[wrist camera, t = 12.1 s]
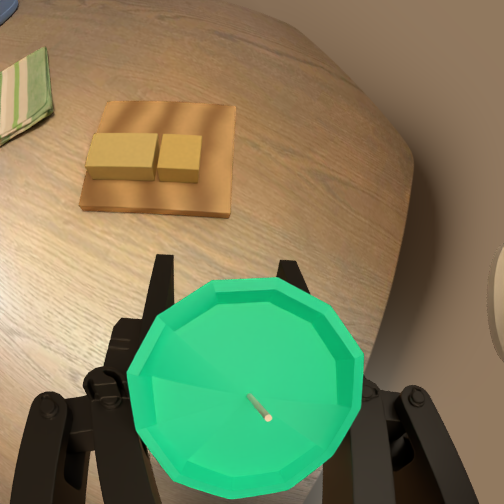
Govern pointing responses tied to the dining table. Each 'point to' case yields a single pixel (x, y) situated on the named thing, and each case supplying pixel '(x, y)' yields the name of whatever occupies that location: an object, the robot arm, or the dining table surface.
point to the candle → (245, 387)
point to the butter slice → (179, 158)
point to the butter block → (123, 156)
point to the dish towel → (24, 94)
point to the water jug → (7, 9)
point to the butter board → (158, 192)
